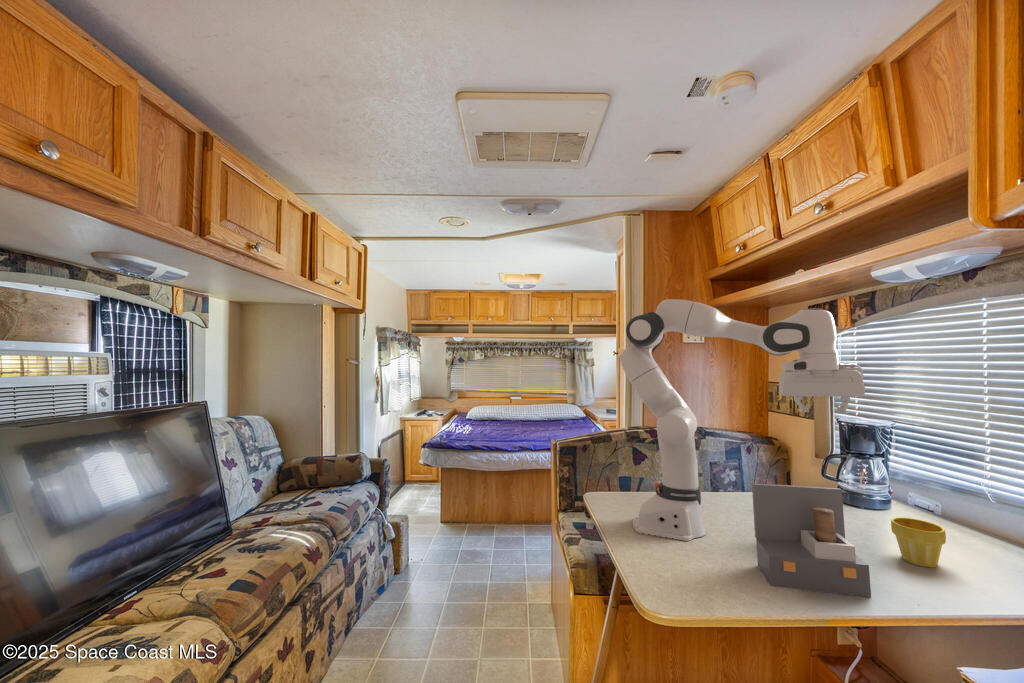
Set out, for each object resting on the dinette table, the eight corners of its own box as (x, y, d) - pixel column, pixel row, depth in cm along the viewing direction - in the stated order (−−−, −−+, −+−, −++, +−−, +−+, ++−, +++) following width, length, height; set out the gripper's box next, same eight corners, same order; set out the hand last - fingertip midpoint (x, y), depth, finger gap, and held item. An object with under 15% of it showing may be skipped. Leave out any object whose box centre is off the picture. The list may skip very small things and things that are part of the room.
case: (771, 586, 96) (766, 496, 97) (756, 563, 107) (751, 483, 109) (872, 598, 90) (865, 503, 92) (845, 572, 102) (839, 488, 103)
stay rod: (813, 548, 100) (809, 507, 101) (832, 549, 99) (828, 507, 100) (821, 555, 96) (817, 512, 97) (840, 556, 95) (836, 513, 96)
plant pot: (960, 573, 101) (956, 533, 101) (909, 568, 103) (906, 529, 104) (930, 555, 111) (926, 518, 111) (884, 551, 113) (881, 515, 114)
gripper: (855, 363, 116) (859, 411, 115) (775, 364, 122) (778, 410, 121) (868, 363, 110) (872, 414, 109) (783, 364, 116) (786, 413, 115)
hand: (822, 412), depth 115 cm, fingers open, 8 cm apart
